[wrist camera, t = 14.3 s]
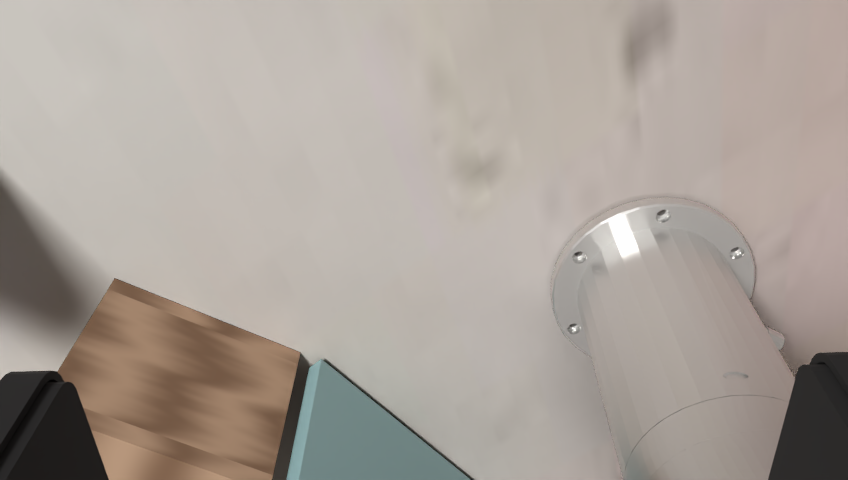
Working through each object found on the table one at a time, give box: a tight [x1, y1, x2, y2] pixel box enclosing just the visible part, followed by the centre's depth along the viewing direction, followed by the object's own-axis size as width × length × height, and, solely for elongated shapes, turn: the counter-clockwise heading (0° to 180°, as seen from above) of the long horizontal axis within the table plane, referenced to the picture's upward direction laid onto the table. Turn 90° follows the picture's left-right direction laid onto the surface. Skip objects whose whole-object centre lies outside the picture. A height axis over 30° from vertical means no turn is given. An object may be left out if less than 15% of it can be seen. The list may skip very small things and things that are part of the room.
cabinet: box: [58, 279, 300, 480], centre depth 52 cm, size 13×20×12 cm, turn 152°
